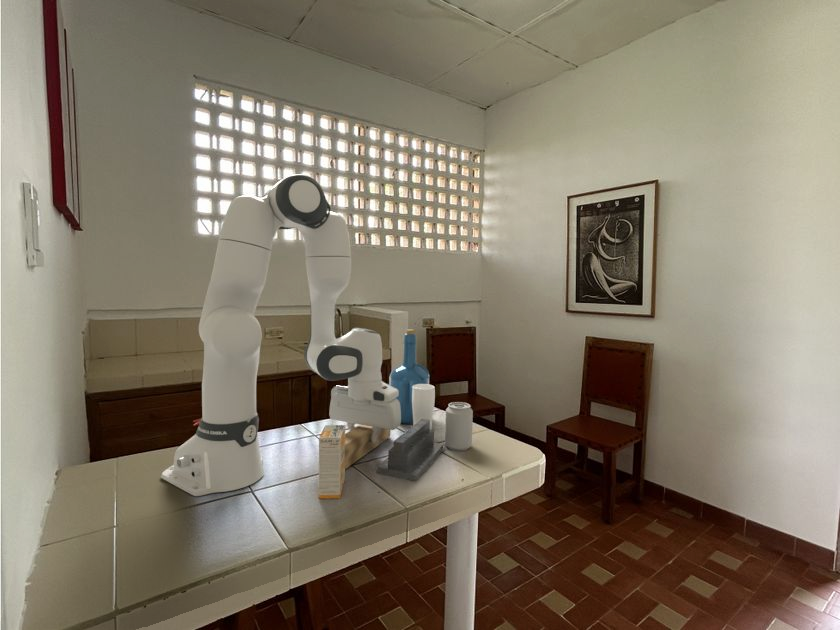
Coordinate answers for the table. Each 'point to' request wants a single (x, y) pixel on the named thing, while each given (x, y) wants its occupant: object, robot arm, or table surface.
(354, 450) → the wooden block
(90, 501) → the table surface
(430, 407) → the cream cylinder
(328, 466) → the supplement box
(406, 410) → the blue rounded container
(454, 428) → the can
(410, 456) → the ridge
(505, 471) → the table surface
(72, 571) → the table surface
